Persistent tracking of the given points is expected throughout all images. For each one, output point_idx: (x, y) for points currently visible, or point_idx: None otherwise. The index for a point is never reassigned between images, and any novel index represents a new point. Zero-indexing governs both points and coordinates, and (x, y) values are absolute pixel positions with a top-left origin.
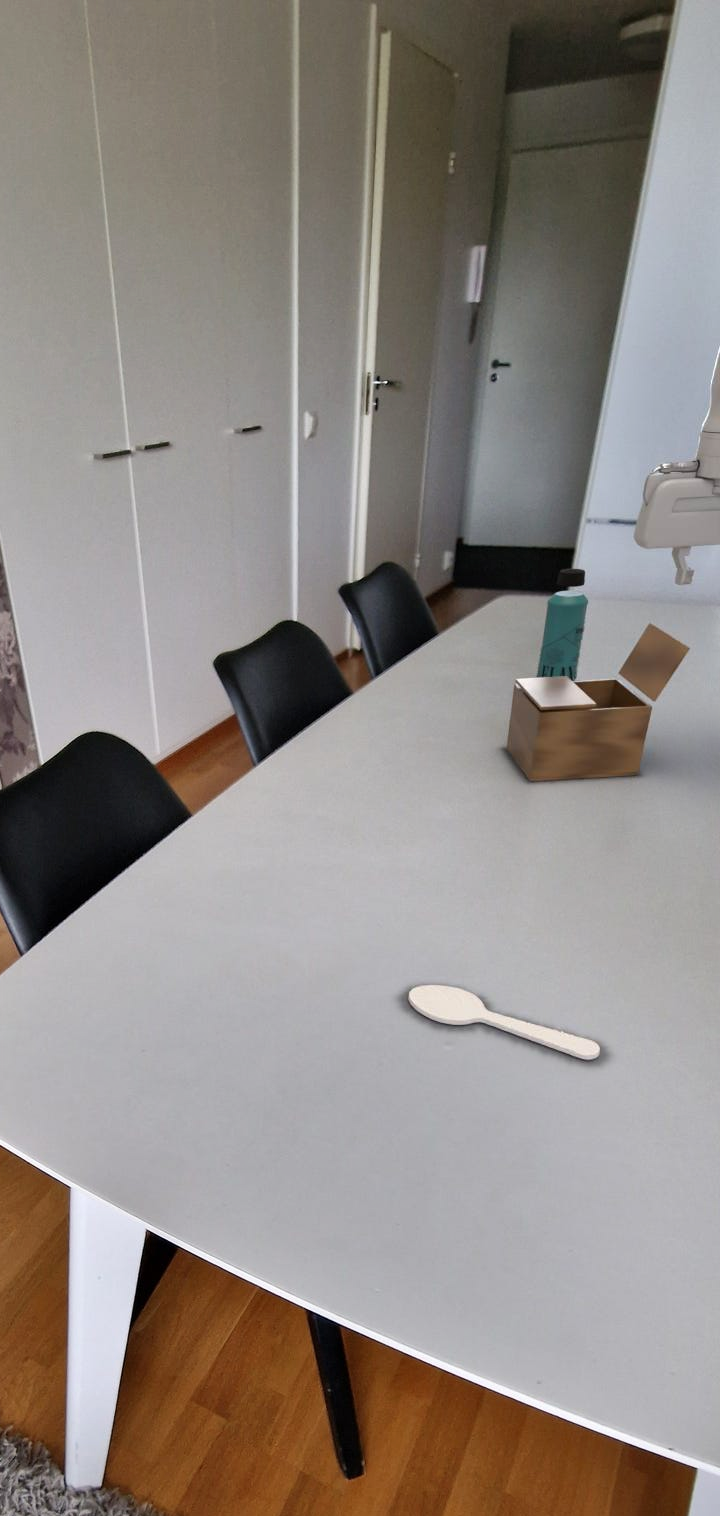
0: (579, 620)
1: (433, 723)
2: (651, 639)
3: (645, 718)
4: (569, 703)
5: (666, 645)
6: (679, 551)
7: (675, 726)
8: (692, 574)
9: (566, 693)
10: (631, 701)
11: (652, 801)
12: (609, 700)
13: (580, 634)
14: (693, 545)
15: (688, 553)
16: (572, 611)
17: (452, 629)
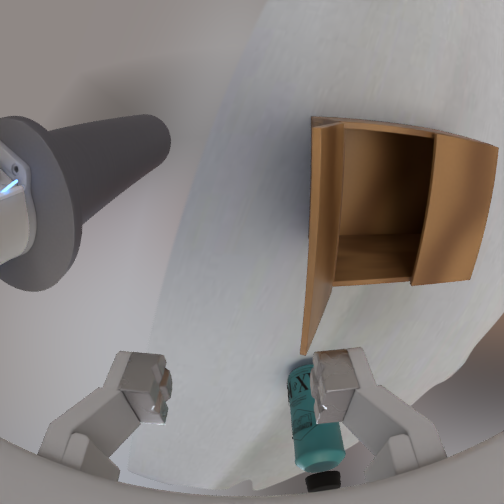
0: (310, 436)
1: (445, 313)
2: (317, 301)
3: (340, 120)
4: (468, 149)
5: (322, 230)
6: (440, 442)
7: (197, 283)
8: (325, 377)
9: (453, 199)
10: None
11: (322, 33)
12: None
13: (301, 423)
14: (408, 474)
15: (396, 444)
16: (324, 443)
17: None
